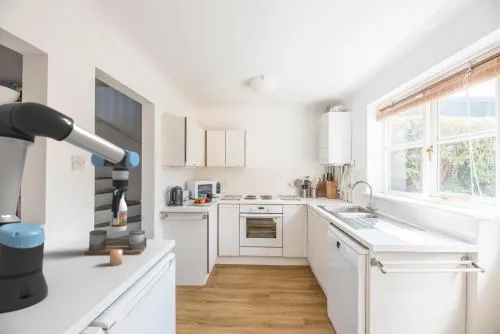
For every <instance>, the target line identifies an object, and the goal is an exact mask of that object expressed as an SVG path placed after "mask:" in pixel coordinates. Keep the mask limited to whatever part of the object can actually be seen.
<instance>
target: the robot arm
mask: <svg viewBox="0 0 500 334" xmlns="http://www.w3.org/2000/svg"><path fill="white" fill-rule="evenodd" d="M36 137H44V138H48V139H52V140H53V141H57V142H63V141H64V142H66V143H68V144H70V145H73V146H75V147H77V148H79V149H82V150H84V151H86V152H88V153H90V154H91V156H90V162H91V164H92V165H93V166H94V167H97V168H111V169H112V177H111V178H112V180H111V187H114V188H115V190H112V201H111V207H112V208H111V207H110V213H111V212H113V225H118V224H119V212H118V211H119V205H120V200H121V199H122V194H123V193H125V197H124V200H125V203H126V204H127V189H125V188H128V186H129V175H130V173H129V172H130V171H129V169H133V168H137V167H138V166H139V163H140V156H139V154H138V153H137V152H136V151H129V150H128V149H123V148H121V147H119V146H117V145H116V144H114V143H112V142H110V141H108V140H106V139H104V137H101V136H99V135H98V134H95V133H93V132H92V131H90V130H88V129H86V128H84V127H82V126H81V125H79V124H77V123H75V121H74V119H73V118H72V117H69V115H66V114H64V113H63V112H60V111H58V110H56V109H55V108H52V107H50V106H48V105H45V104H42V103H39V102H34V101H26V102H15V103H14V102H12V103H11V102H10V103H3V104H0V313H5V312H12V311H16V310H21V309H25V308H28V307H30V306H33V305H35V304H37V303H40V302H41V301H43V300H45V298H47V297H48V295H49V286H48V284H47V280H46V278H45V275H44V273H43V272H44V271H43V269H44V267H43V265H44V253H45V251H44V250H45V249H44V248H45V239H46V236H45V228H44V227H43V226H42V225H40V224H37V223H32V222H27V223H26V222H21V219H20V218H19V217H18V216H17V215H16V214H17V209H18V203H19V197H20V192H21V187H22V181H23V176H24V171H25V165H26V160H27V155H28V154H27V153H28V150H29V148H31V147H32V146H34V145H35V142H36V141H35V140H36ZM115 208H116V209H115Z"/></svg>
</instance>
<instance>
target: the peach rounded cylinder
mask: <svg viewBox="0 0 500 334" xmlns="http://www.w3.org/2000/svg"><path fill="white" fill-rule="evenodd" d="M122 253H123V250H122V249H114V250H111V251H110V255H109V267H110V266H111V267H117V266H121V265H122V264H123V255H122Z"/></svg>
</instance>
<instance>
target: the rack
mask: <svg viewBox="0 0 500 334" xmlns="http://www.w3.org/2000/svg"><path fill="white" fill-rule="evenodd" d="M107 234H108V230H107V229H96V230H95V229H94V230H90V231H89V242H88V250H85V251H84V256H110V251H111V250H114V249H122V250H123V253H122V256H125V255H126V256H128V255H130V256H136V255H135V254H140V255H142V253H143V252H144V251H145V250H146V249H147V247H148V246H147V241H148V240H147V239H148V237H145V236H146V230H145V229H134V230H130V231H128V237H107Z"/></svg>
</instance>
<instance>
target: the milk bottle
mask: <svg viewBox="0 0 500 334" xmlns="http://www.w3.org/2000/svg"><path fill="white" fill-rule="evenodd" d="M124 197H125V193H123V194H122V199H121V200H120V205H119V211H118V212H119V224H118V225H113V212H111V211H110V221H109V231H110V232H111V233H123V232H126V231H127V227H128V226H127V224H128V206H127V202H126V203H125V200H124ZM111 208H112V206H111V207H110V209H111ZM115 209H116V208H115Z"/></svg>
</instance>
